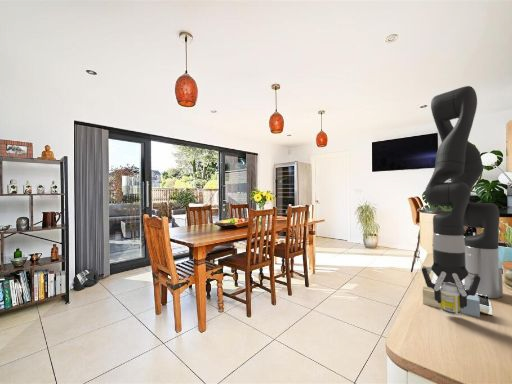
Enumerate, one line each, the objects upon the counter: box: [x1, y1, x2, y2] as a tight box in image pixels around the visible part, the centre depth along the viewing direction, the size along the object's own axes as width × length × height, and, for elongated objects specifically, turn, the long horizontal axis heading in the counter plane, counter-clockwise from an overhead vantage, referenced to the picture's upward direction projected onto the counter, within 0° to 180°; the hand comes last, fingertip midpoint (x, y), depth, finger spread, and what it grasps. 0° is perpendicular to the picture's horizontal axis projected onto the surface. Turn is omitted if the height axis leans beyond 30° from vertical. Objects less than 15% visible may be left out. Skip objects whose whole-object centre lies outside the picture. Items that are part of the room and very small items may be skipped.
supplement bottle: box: [440, 282, 462, 316], centre depth 70 cm, size 5×5×8 cm
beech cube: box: [422, 284, 441, 309], centre depth 79 cm, size 5×5×5 cm
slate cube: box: [461, 295, 481, 318], centre depth 73 cm, size 5×5×5 cm
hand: (450, 304), depth 70 cm, fingers closed on supplement bottle, 4 cm apart
